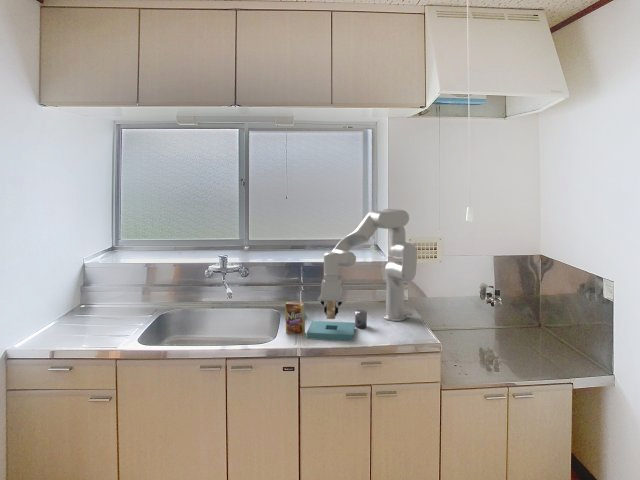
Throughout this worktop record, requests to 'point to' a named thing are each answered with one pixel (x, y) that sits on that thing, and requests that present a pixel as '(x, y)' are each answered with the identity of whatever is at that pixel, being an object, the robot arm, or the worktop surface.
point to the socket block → (331, 330)
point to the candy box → (295, 318)
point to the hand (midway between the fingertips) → (331, 313)
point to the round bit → (360, 319)
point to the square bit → (331, 309)
